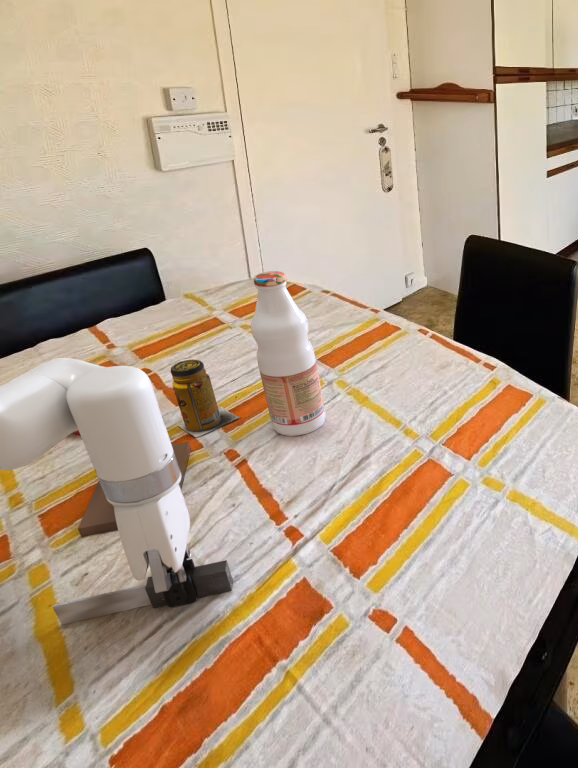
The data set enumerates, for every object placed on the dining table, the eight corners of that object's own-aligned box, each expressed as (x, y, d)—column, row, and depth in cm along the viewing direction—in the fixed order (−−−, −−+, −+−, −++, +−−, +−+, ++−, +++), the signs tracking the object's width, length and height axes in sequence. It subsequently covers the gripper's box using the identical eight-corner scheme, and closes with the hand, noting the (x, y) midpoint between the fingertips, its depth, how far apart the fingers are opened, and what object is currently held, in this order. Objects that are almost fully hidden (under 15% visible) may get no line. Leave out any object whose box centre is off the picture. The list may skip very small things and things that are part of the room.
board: (81, 536, 87) (77, 528, 87) (112, 462, 103) (109, 454, 103) (174, 518, 91) (171, 510, 90) (191, 448, 107) (188, 441, 106)
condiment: (176, 425, 113) (157, 366, 108) (220, 406, 119) (204, 349, 114) (196, 438, 109) (177, 378, 104) (240, 418, 115) (225, 360, 109)
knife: (59, 630, 73) (48, 609, 72) (64, 617, 75) (54, 597, 73) (231, 590, 78) (225, 570, 77) (232, 579, 80) (226, 559, 78)
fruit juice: (266, 438, 109) (229, 286, 96) (280, 411, 117) (248, 267, 104) (321, 435, 110) (292, 284, 96) (330, 408, 118) (305, 265, 105)
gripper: (119, 443, 75) (162, 558, 83) (82, 528, 61) (138, 654, 70) (187, 432, 77) (222, 545, 85) (166, 512, 63) (210, 637, 72)
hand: (184, 593), depth 78 cm, fingers closed on knife, 2 cm apart
